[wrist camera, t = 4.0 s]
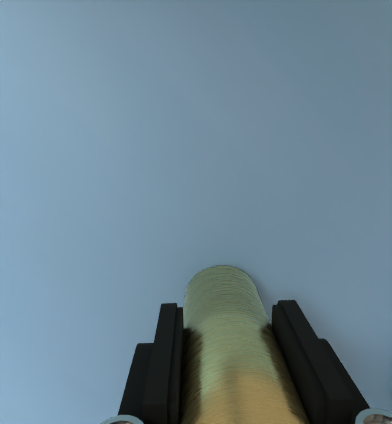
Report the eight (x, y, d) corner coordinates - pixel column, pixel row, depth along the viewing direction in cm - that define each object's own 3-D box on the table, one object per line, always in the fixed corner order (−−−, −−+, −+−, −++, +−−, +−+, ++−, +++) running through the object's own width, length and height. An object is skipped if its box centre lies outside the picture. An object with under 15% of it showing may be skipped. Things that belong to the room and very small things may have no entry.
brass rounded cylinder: (183, 266, 12) (155, 588, 4) (258, 264, 12) (414, 582, 4) (186, 331, 13) (169, 717, 4) (256, 329, 13) (377, 712, 4)
